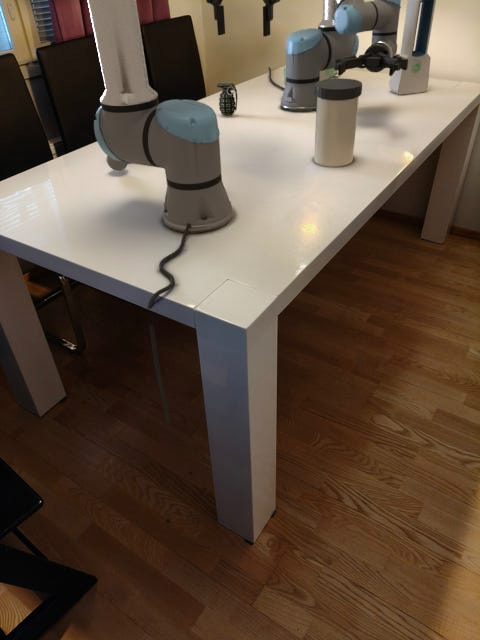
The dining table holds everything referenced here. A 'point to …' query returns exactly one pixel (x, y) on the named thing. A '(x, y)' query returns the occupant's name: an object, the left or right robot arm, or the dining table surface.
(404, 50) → the electronic device
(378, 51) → the right robot arm
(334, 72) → the decorative block
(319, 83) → the lid
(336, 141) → the jar
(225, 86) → the grenade
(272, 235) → the dining table surface
